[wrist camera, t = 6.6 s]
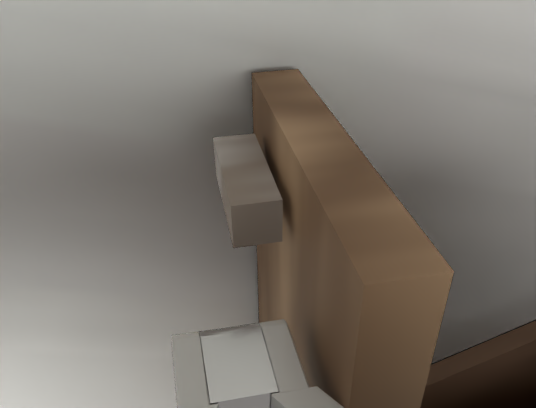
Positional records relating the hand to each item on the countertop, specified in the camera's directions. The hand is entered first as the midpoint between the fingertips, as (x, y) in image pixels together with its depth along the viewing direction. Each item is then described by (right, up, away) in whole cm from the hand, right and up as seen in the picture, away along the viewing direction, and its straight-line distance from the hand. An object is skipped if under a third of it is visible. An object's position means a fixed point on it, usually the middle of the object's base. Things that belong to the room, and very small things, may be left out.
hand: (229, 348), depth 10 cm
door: (0, 0, +7) cm, 7 cm away
